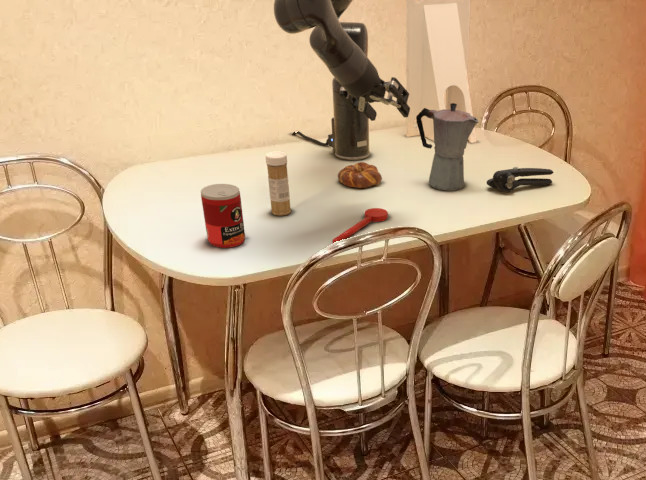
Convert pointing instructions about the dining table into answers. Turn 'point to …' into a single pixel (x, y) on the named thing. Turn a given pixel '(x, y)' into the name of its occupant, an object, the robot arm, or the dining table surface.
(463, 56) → the cream upright block
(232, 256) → the dining table surface
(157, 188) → the dining table surface
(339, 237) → the red spoon
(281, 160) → the sprinkles bottle
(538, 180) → the can opener
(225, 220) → the canned food
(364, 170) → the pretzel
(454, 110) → the moka pot
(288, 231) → the dining table surface
